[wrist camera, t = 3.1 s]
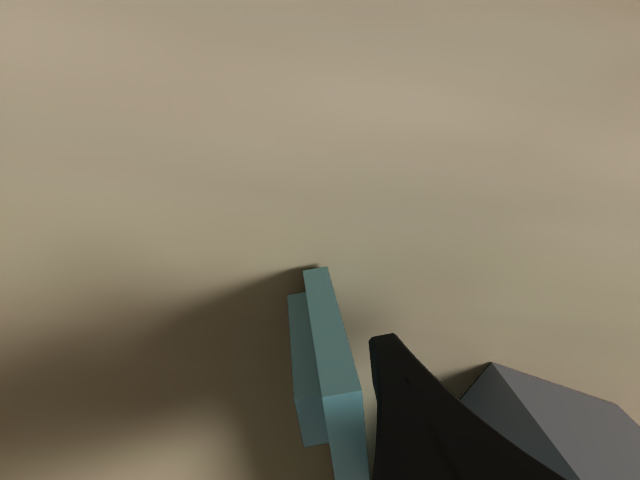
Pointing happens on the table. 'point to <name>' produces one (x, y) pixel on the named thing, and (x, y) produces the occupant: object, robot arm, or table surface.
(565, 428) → the block
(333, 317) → the door
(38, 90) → the table surface
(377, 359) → the robot arm
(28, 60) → the table surface
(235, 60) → the table surface
